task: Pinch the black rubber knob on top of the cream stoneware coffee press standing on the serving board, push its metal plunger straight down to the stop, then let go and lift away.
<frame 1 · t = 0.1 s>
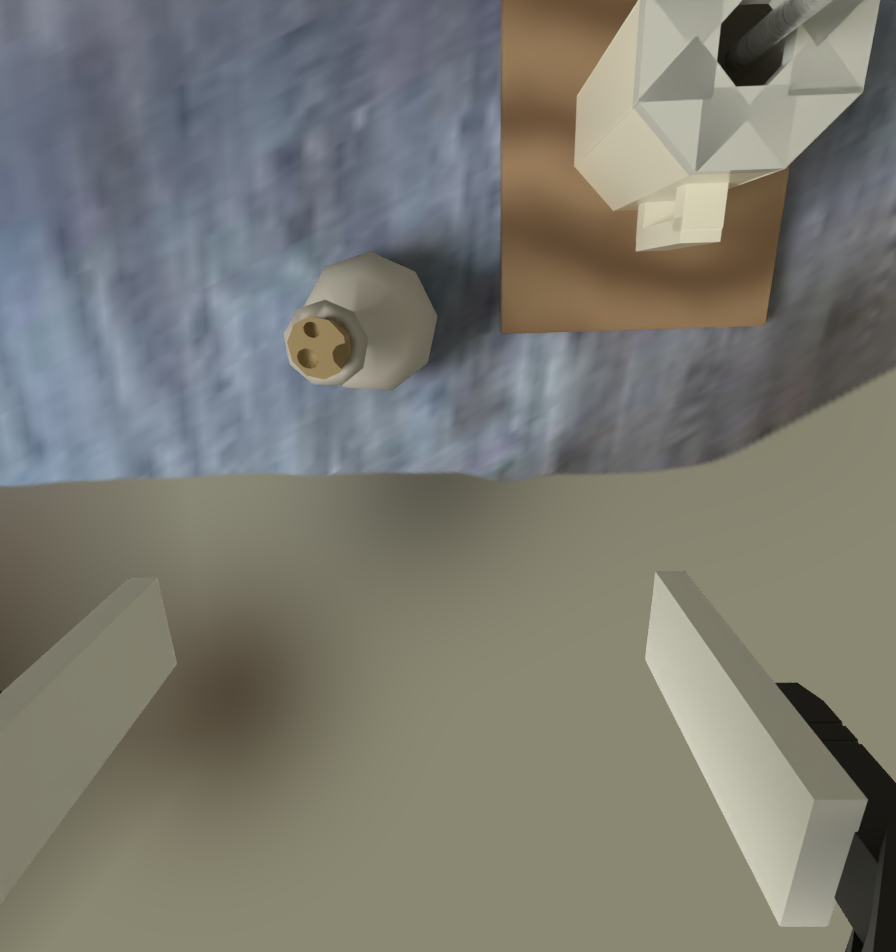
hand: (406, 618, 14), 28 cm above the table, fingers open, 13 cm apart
board: (640, 135, 35), on the table
potion bottle: (375, 321, 39), on the table
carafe: (648, 129, 33), resting on board
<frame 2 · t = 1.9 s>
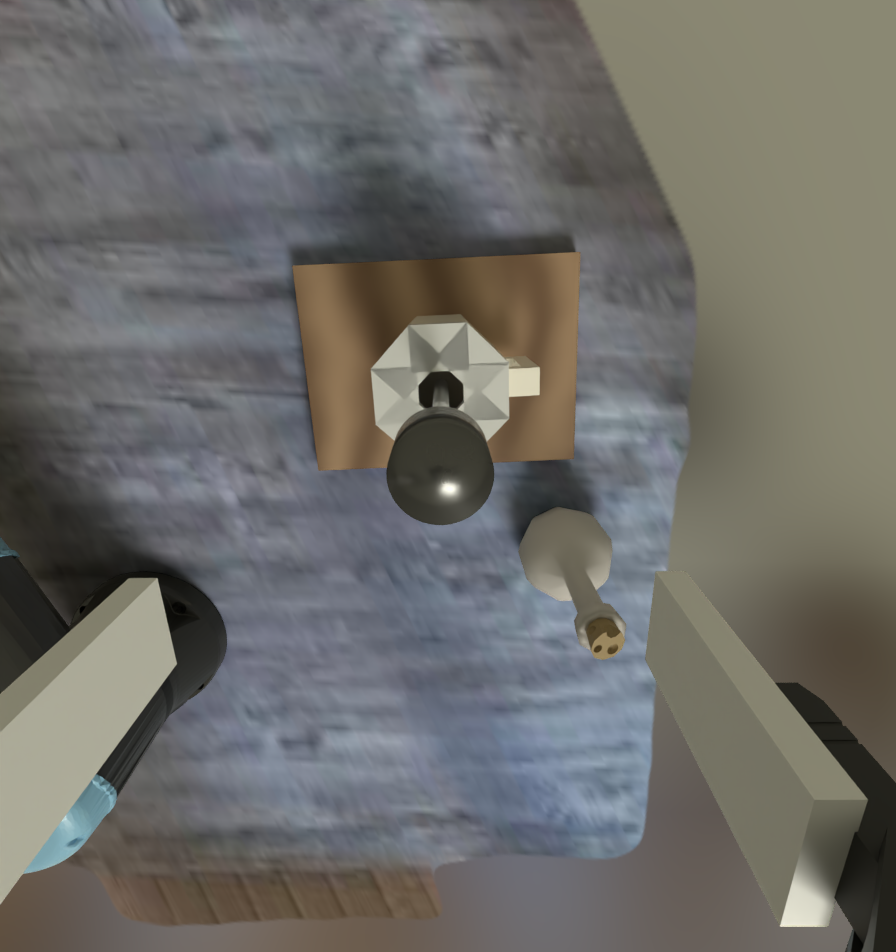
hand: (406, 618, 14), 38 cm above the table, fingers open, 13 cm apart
board: (441, 365, 49), on the table
potion bottle: (557, 538, 55), on the table
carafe: (441, 368, 48), resting on board
plunger: (440, 416, 30), point 21 cm above the table, slide at 0.0 cm
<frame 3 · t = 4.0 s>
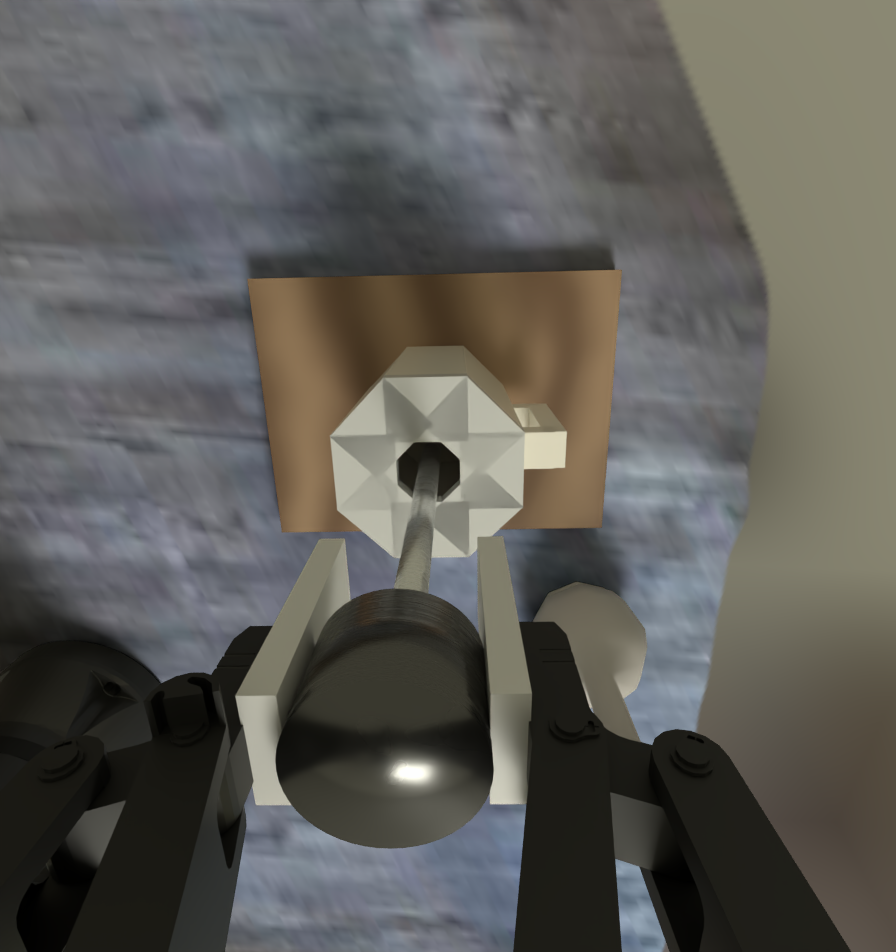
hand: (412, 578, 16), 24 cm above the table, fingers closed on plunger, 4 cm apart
board: (438, 407, 39), on the table
potion bottle: (576, 617, 45), on the table
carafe: (437, 412, 38), resting on board
plunger: (419, 533, 19), point 21 cm above the table, slide at 0.0 cm, touching gripper
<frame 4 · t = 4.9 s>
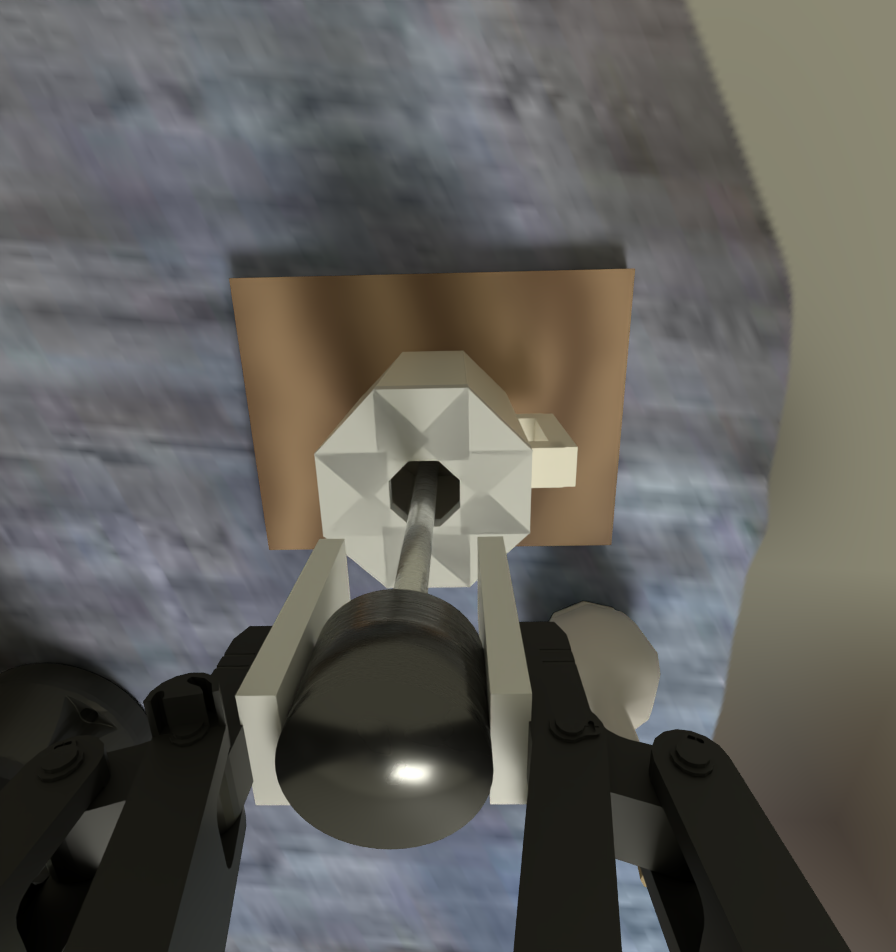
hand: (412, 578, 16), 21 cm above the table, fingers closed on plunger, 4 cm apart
board: (436, 416, 36), on the table
potion bottle: (583, 638, 42), on the table
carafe: (435, 422, 35), resting on board
plunger: (418, 534, 19), point 18 cm above the table, slide at 2.9 cm, touching gripper
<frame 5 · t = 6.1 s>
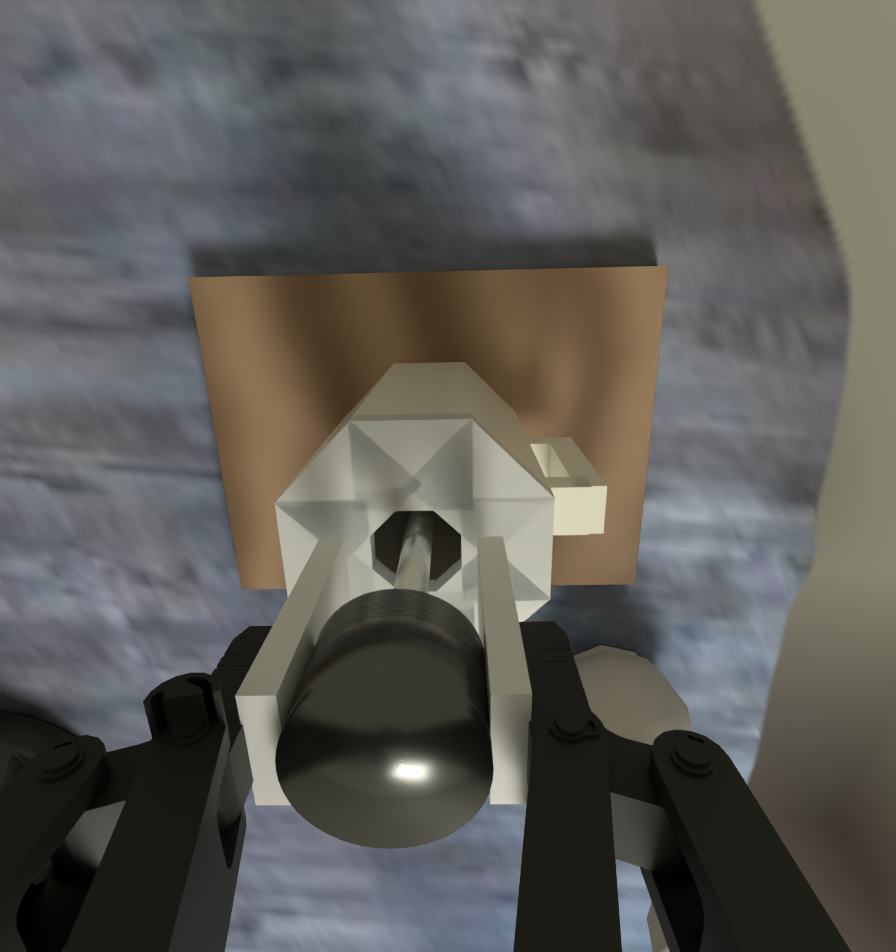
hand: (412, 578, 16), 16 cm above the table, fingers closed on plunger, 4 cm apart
board: (433, 437, 32), on the table
potion bottle: (600, 685, 38), on the table
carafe: (432, 444, 30), resting on board
plunger: (419, 533, 19), point 13 cm above the table, slide at 8.1 cm, touching gripper
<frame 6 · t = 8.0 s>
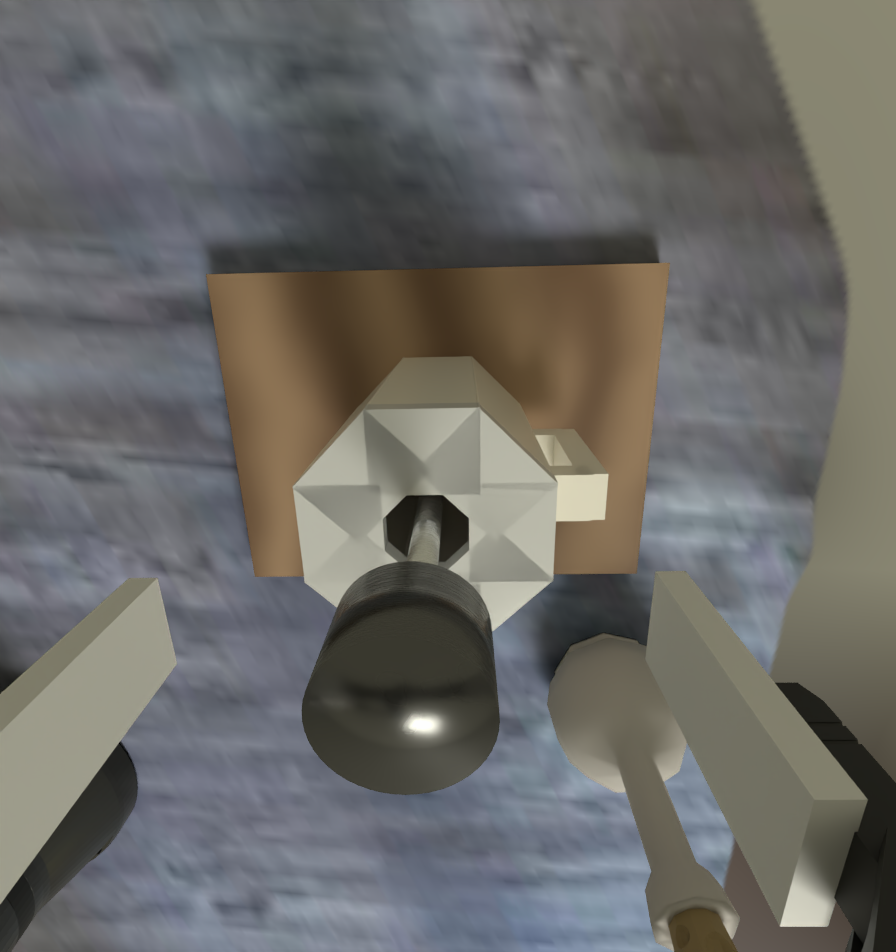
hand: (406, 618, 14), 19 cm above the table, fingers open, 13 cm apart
board: (440, 430, 32), on the table
potion bottle: (602, 673, 38), on the table
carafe: (439, 436, 31), resting on board
plunger: (428, 518, 20), point 13 cm above the table, slide at 8.1 cm
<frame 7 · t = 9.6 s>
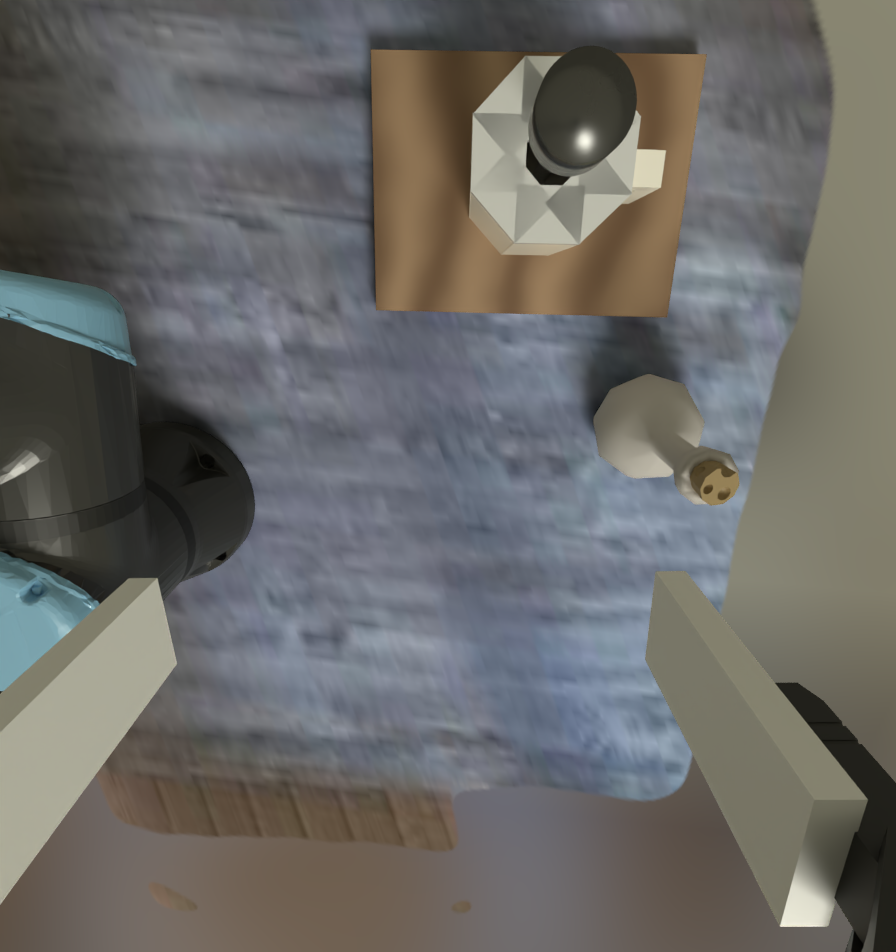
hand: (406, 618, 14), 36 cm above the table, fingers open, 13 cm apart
board: (526, 195, 43), on the table
potion bottle: (633, 419, 49), on the table
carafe: (528, 192, 42), resting on board
plunger: (549, 160, 31), point 13 cm above the table, slide at 8.1 cm
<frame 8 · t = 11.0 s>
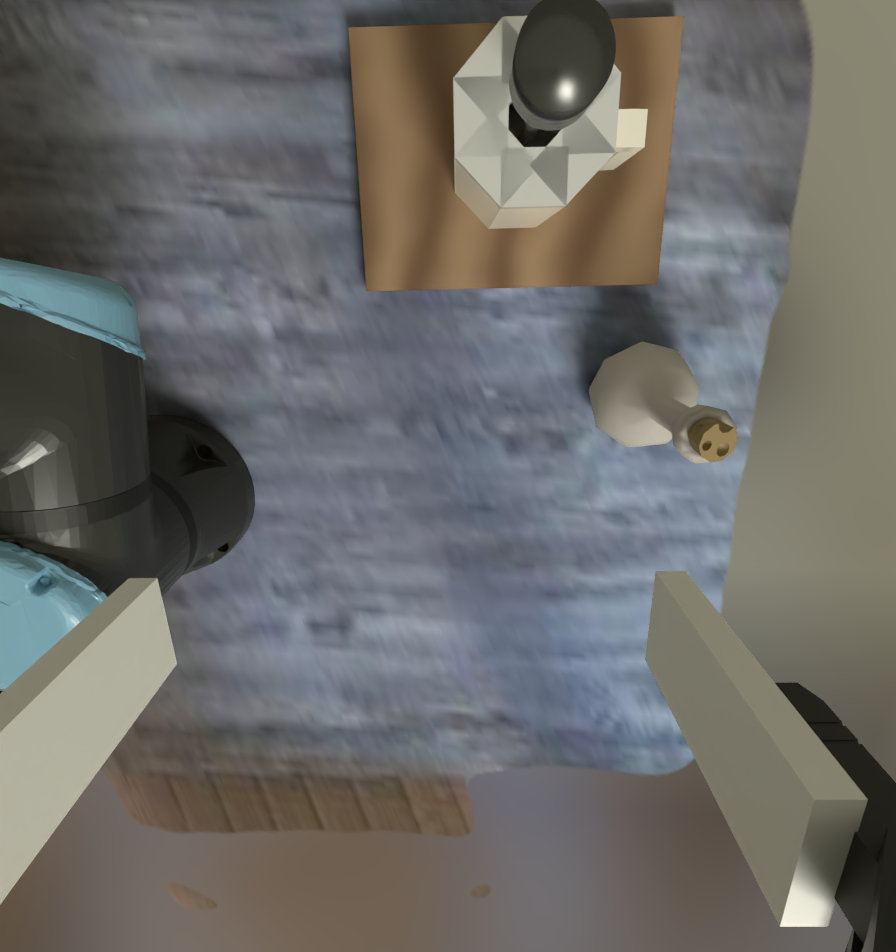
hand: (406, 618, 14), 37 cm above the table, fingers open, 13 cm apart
board: (511, 168, 43), on the table
potion bottle: (628, 389, 49), on the table
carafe: (512, 164, 42), resting on board
plunger: (532, 123, 31), point 13 cm above the table, slide at 8.1 cm
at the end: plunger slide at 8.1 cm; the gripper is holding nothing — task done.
